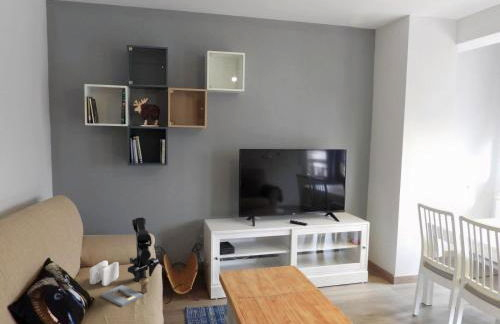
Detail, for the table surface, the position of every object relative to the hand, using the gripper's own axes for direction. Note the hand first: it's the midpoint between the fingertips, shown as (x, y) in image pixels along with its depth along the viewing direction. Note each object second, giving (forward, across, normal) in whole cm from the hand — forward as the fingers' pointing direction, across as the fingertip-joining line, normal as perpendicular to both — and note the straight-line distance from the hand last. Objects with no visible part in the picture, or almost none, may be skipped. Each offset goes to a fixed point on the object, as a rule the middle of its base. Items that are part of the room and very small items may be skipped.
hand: (143, 279), depth 207 cm
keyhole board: (+8, +11, -6) cm, 15 cm away
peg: (+8, 0, 0) cm, 8 cm away
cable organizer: (+8, +6, -31) cm, 33 cm away
